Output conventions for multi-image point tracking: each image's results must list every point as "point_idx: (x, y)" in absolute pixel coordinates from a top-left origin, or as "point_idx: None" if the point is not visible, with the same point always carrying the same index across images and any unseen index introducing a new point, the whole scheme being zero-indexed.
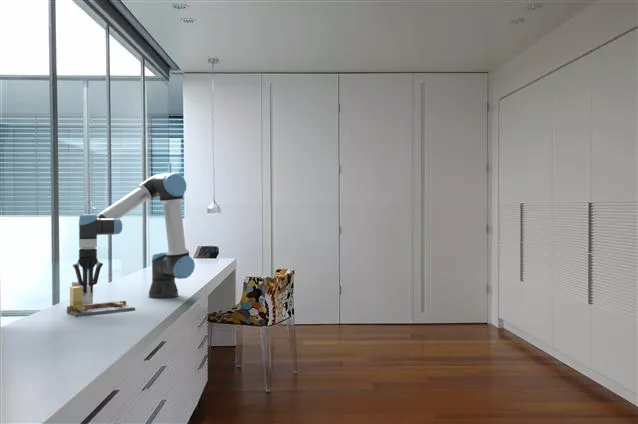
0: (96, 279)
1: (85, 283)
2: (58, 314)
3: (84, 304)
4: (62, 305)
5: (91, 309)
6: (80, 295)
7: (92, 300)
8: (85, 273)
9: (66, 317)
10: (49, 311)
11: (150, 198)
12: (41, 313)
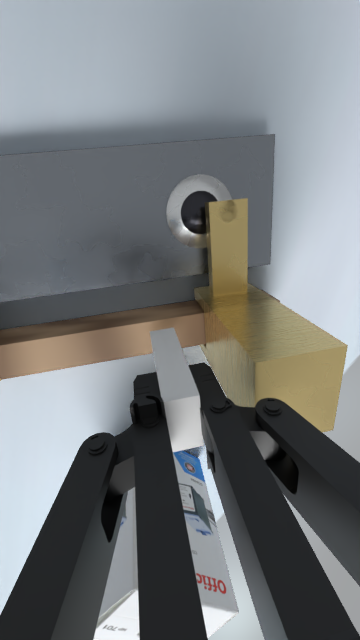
0: (78, 493)
1: (228, 420)
2: (309, 283)
3: None
4: (219, 498)
5: (148, 264)
6: (242, 322)
7: None
8: (305, 581)
9: (317, 148)
10: None
11: None
12: (350, 350)
